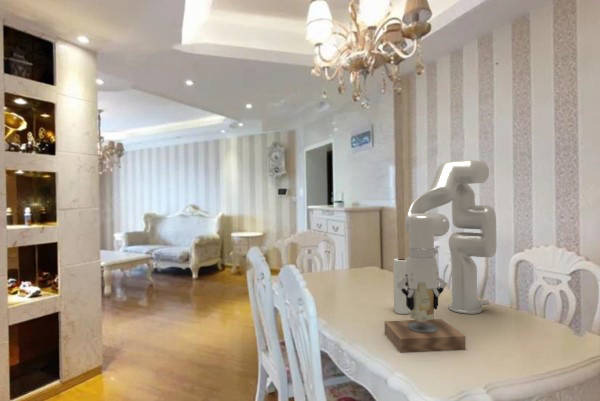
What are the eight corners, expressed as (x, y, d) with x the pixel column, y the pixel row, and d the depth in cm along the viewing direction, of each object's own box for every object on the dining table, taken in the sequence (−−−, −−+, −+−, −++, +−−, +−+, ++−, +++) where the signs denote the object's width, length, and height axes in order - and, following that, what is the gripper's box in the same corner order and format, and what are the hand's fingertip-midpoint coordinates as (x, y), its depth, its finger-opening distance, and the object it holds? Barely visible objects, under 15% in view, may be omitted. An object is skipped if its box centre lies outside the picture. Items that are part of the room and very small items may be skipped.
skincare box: (420, 322, 115) (419, 283, 115) (410, 318, 119) (409, 280, 119) (435, 319, 118) (434, 280, 118) (424, 315, 122) (424, 278, 122)
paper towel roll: (410, 315, 145) (410, 260, 145) (395, 314, 146) (394, 260, 146) (409, 309, 152) (408, 257, 152) (394, 308, 153) (393, 257, 153)
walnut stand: (441, 330, 127) (441, 317, 127) (465, 349, 111) (465, 334, 111) (384, 332, 126) (384, 320, 126) (400, 352, 110) (400, 337, 110)
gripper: (442, 251, 123) (443, 304, 123) (391, 252, 122) (392, 306, 122) (453, 254, 116) (454, 311, 116) (399, 255, 114) (399, 313, 114)
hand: (422, 308), depth 119 cm, fingers closed on skincare box, 7 cm apart
